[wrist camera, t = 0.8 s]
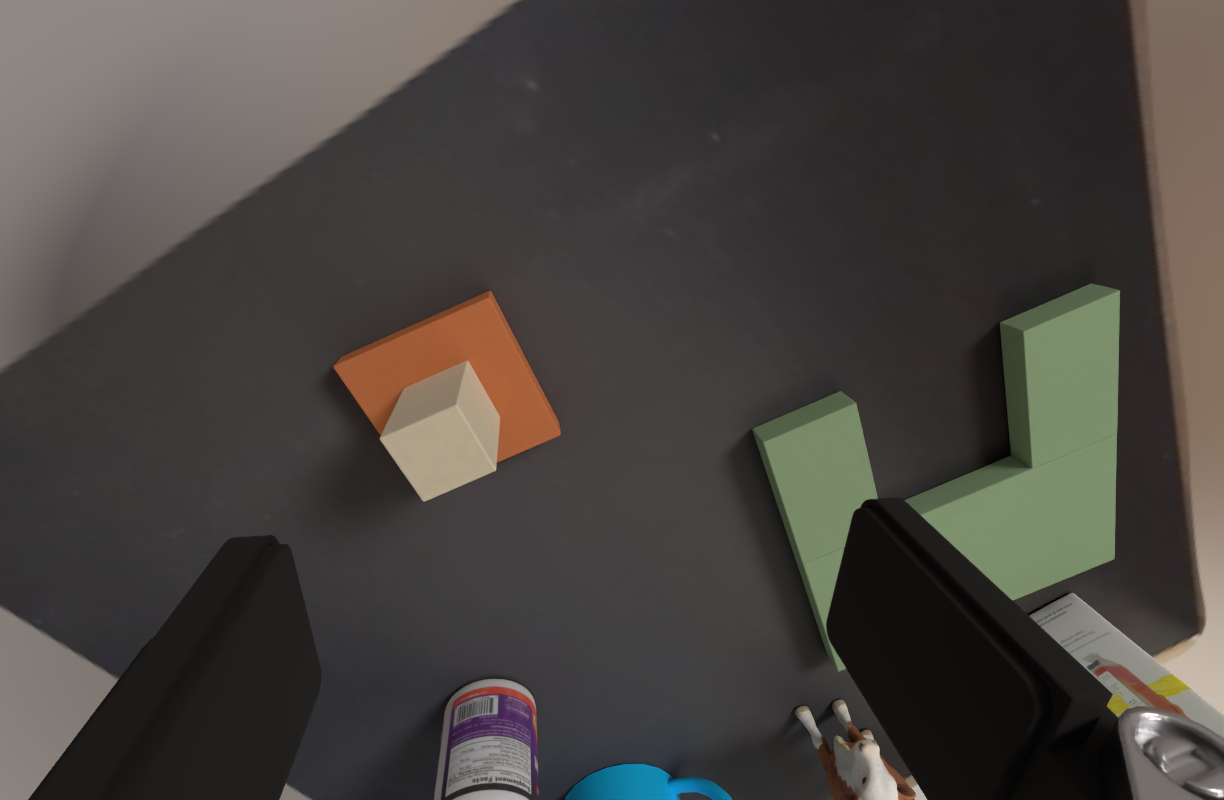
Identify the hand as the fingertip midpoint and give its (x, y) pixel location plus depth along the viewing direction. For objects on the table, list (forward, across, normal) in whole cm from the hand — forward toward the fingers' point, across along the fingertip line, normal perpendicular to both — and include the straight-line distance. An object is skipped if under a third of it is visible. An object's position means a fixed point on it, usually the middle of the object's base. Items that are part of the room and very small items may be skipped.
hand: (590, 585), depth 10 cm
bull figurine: (+17, -19, +29) cm, 39 cm away
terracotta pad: (+17, +4, +4) cm, 17 cm away
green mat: (+17, -22, +10) cm, 29 cm away
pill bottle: (+17, +4, +24) cm, 30 cm away
